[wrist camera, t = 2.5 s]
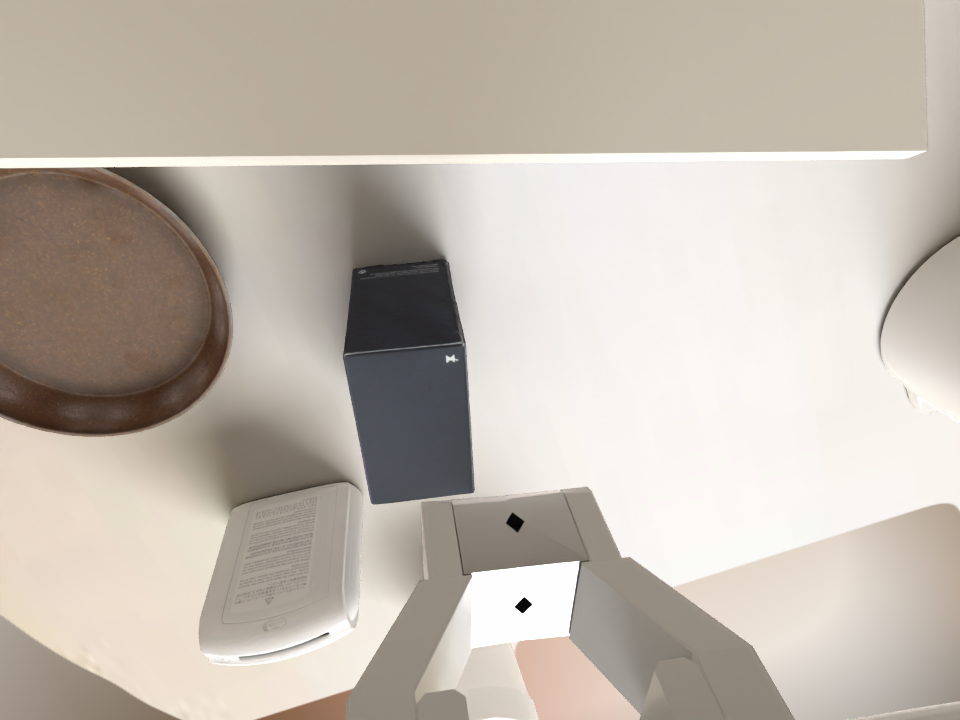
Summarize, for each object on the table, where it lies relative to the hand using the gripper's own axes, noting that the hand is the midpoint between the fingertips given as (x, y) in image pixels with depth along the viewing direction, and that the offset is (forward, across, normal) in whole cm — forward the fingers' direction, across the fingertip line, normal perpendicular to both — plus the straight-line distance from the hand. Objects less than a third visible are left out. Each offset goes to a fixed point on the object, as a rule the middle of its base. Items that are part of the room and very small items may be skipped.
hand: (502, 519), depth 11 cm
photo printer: (+29, +10, +27) cm, 41 cm away
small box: (+29, +1, +12) cm, 31 cm away
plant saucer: (+29, +20, +8) cm, 36 cm away
